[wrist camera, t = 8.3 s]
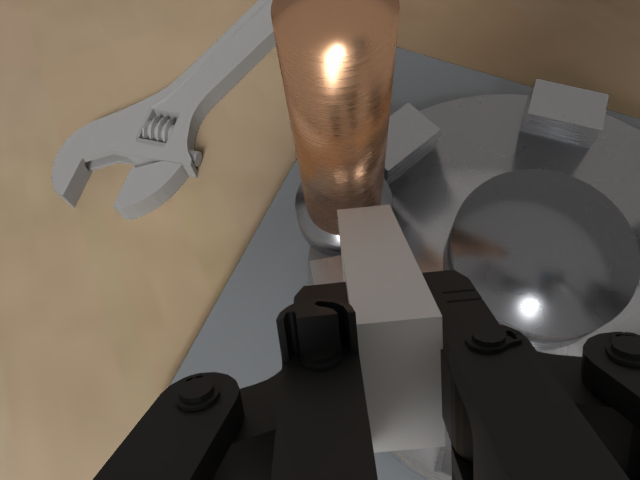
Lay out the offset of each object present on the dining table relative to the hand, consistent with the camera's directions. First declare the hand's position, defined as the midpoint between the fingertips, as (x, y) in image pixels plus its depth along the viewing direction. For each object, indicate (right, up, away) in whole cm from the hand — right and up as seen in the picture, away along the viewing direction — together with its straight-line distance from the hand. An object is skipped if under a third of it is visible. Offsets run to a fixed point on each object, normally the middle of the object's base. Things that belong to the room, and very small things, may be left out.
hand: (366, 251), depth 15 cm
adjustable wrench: (-6, +10, +16) cm, 20 cm away
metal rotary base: (+6, -2, +7) cm, 9 cm away
